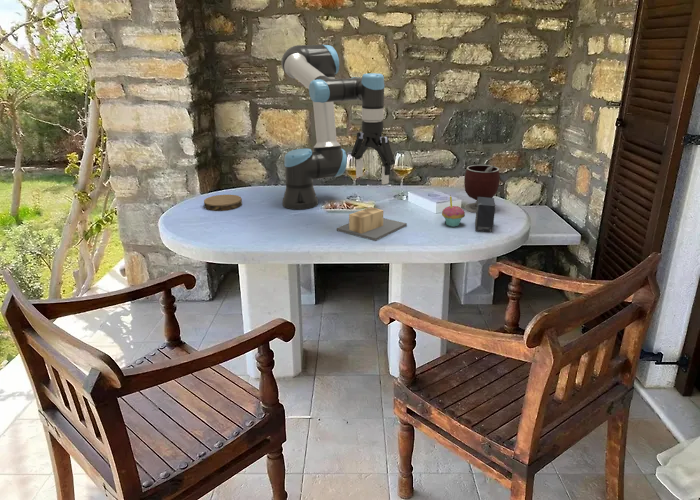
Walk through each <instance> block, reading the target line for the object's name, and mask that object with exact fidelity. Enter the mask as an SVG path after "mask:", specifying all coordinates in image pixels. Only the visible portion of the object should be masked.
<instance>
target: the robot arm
mask: <svg viewBox="0 0 700 500" xmlns="http://www.w3.org/2000/svg"><path fill="white" fill-rule="evenodd" d="M280 61H281V68H282V70H283V72H284V73H285V74H286V75H287V76H288V77H289V78H291V79H296V80H297V81H298V82H299V83H300V84H302V85H303V86H304V87H305V88H307V89H308V94H309V97H310V100H311V101H312V106H313V115H314V118H313V119H314V125H315V126H314V127H315V138H316V143H315V145H314V146H313V150H312V149H311V148H306V147H305V148H297V149H292V150H290V151H287V152H286V153H285V155H284V163H283V165H284V175H285V190H284V195H283V198H282V206H283V207H284V208H286V209H290V210H307V209H312V208H315V207H317V206H318V205H319V199H318V196H317V194H316V190H315V187H314V180H319V179H328V178H335V177H340V176H342V175H343V174H345V172H346V170H347V165H348V156H347V153H346V150H345V149H343V148H342V146H341V144H340V143H339V142H338V140H337V139H338V138H337V129H336V117H335V116H336V115H335V106H334V104H335V103H334V102H348V101H350V102H351V101H361V120H362V122H361V131H359V132H357V133H356V139H355V141H354V144H353V148H352V150H351V153H350V156H351V157H352V158H353V157H354V162H355V163H354V165H355V166H354V167H355V177H356V178H360V177H363V176H364V174H363V173H364V170H363V169H364V158H363V155H364V154H365V153H366V151H367V150H368V149H369V148H372V149H374V150H376V152H377V154H378V157H379V158H380V160H381V162H382V164H383V165H382V166H381V185H387V184H389V183H390V181H389V179H390V175H391V166H394V165H396V161H395V158H394V156H393V155H394V154H393V152H392V148H391V145H390V139H389V136H388V135H387V136H383V135H382V133H383V131H384V121H383V120H384V111H385V110H384V108H385V107H384V105H385V103H384V102H385V77H384V75H383V74H382V73H373V72H371V73H363V74H362V77H360V76H357V77H355V76H354V77H350V78H336V76H335V75H337V74H338V73H339V72H340V58H339V56H338V52H337V50H336V49H335V48H334V46H332V45H330V44H329V45H328V44H303V45H301V44H296V45H293V46H291V47H290V48H288V49H287V50H286V51H285V52H284V53H283V55H282V58H281V60H280Z"/></svg>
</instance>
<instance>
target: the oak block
mask: <svg viewBox="0 0 700 500" xmlns="http://www.w3.org/2000/svg"><path fill="white" fill-rule="evenodd" d="M348 216H349V217H348V218H349V219H348V223H349V230H351V231H354V232H357V233H361V234H362V233H364V232H367V231H370V230H373V229H375V228H378V227H381V226H383V218H384V210H383V209H379V208H377V207H373V206H371V207H368V208H365V209H362V210H358V211H356V212H352V213H349V214H348Z"/></svg>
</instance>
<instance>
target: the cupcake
mask: <svg viewBox="0 0 700 500" xmlns="http://www.w3.org/2000/svg"><path fill="white" fill-rule="evenodd" d="M441 212H442V213H441V216H442V217H443V218H444V220H445V225H446V226H447V227H458V226H459V225H460V223H461V221H462V219H463V218H464V217H465V215H466V212H465V209H463V208H462V207H460V206H457V205H453V200H452V196H451V194H450V195H449V206H446V207H444V208H443V209H442V211H441Z"/></svg>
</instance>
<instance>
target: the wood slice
mask: <svg viewBox="0 0 700 500" xmlns="http://www.w3.org/2000/svg"><path fill="white" fill-rule="evenodd" d="M242 199H243V198H242V197H241V195H237V194H217V195H212V196H208V197H206V198H205V199H204V200H203V204H204V209H205V208H206V209H205V210H207V211H212V212H227V211H232V210H236V209H239V208H241V207H242V206H243V201H242Z"/></svg>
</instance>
